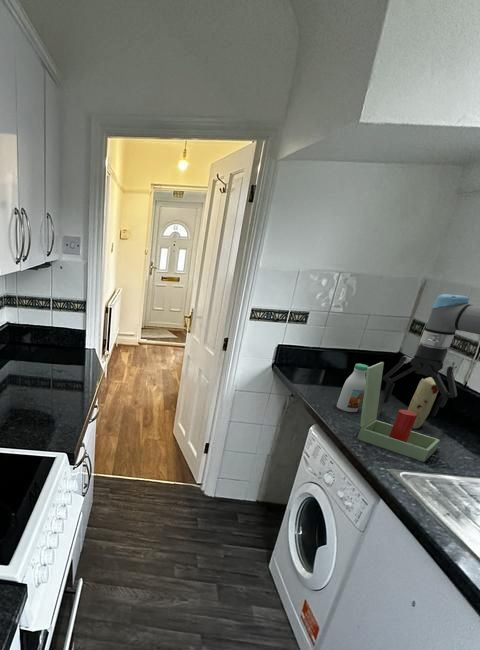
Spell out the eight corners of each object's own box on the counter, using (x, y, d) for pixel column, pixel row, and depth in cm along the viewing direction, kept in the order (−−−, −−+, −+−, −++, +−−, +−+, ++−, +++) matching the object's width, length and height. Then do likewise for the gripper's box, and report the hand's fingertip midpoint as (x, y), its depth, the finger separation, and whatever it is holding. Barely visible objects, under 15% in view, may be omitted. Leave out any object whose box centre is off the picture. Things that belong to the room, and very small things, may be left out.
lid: (383, 362, 146) (381, 362, 146) (369, 368, 138) (367, 367, 138) (376, 418, 152) (374, 418, 152) (362, 427, 143) (359, 427, 144)
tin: (406, 445, 142) (419, 413, 138) (401, 449, 139) (414, 416, 134) (389, 439, 146) (401, 408, 141) (384, 443, 143) (396, 411, 138)
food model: (421, 433, 155) (444, 383, 147) (400, 427, 159) (421, 378, 150) (422, 424, 163) (444, 377, 154) (402, 419, 166) (422, 372, 157)
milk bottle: (336, 412, 170) (352, 366, 162) (334, 405, 177) (349, 360, 168) (357, 416, 168) (375, 369, 159) (354, 409, 174) (371, 364, 166)
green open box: (434, 452, 140) (440, 439, 138) (423, 464, 132) (428, 450, 130) (370, 431, 154) (374, 419, 152) (356, 440, 146) (360, 428, 144)
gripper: (384, 338, 135) (364, 398, 144) (482, 357, 118) (452, 424, 127) (392, 336, 140) (371, 394, 148) (487, 354, 123) (458, 419, 131)
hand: (408, 408), depth 137 cm, fingers open, 13 cm apart
